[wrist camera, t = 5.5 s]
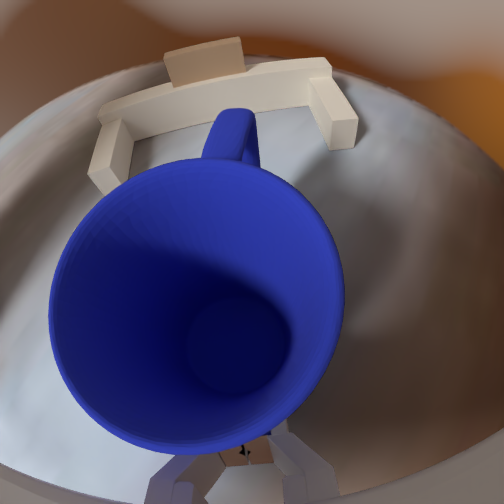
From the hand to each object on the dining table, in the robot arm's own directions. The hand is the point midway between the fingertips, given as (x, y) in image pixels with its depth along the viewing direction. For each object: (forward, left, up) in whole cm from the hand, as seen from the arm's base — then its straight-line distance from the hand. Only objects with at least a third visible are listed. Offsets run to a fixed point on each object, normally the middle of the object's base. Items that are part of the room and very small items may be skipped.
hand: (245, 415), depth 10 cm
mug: (0, +5, -5) cm, 7 cm away
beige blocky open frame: (0, +20, -5) cm, 21 cm away
